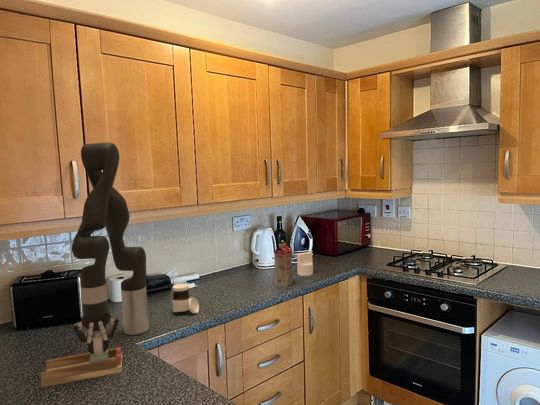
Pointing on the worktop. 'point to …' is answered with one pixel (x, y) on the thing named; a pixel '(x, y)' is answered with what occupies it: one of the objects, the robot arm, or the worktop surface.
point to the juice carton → (283, 265)
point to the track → (80, 368)
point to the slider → (98, 349)
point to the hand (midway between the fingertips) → (98, 351)
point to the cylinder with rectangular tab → (304, 264)
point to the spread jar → (183, 300)
